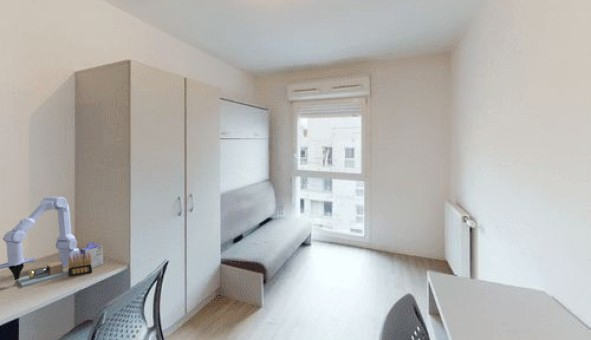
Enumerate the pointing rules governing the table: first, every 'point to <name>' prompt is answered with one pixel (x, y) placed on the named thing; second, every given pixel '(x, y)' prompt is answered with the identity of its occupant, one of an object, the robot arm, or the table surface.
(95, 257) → the ink cartridge box
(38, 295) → the table surface
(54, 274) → the mounting board
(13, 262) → the robot arm
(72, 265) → the ammunition clip
